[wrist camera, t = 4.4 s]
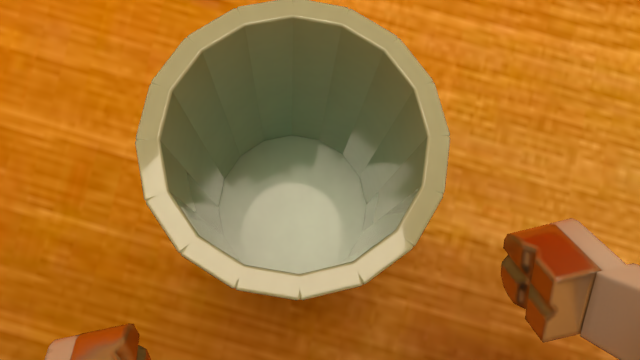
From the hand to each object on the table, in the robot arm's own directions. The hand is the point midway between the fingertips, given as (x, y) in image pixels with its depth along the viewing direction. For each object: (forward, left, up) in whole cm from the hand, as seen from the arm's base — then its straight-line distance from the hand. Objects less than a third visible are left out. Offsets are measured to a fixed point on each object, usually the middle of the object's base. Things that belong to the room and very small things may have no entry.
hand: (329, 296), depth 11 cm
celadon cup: (0, +3, -8) cm, 8 cm away
